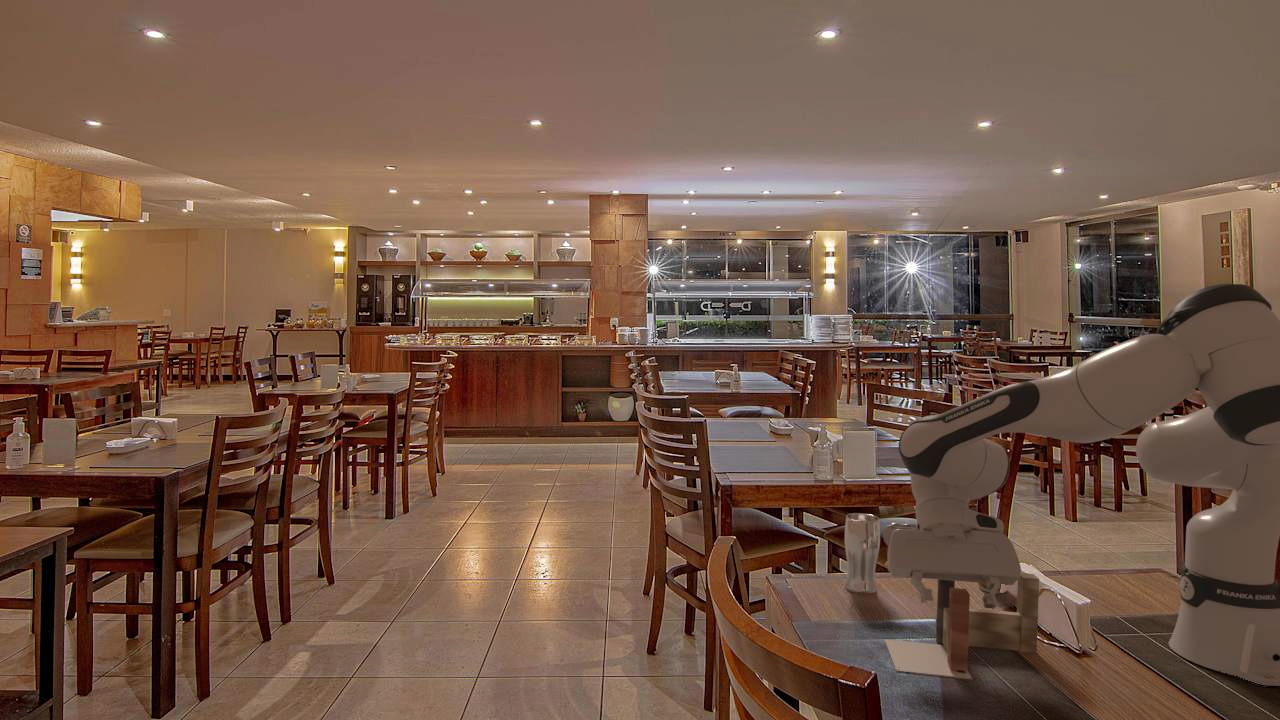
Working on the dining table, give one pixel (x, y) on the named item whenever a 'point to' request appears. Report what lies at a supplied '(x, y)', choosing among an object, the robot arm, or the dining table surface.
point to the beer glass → (862, 551)
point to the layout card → (922, 659)
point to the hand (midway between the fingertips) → (958, 604)
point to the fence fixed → (999, 619)
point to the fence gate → (957, 628)
